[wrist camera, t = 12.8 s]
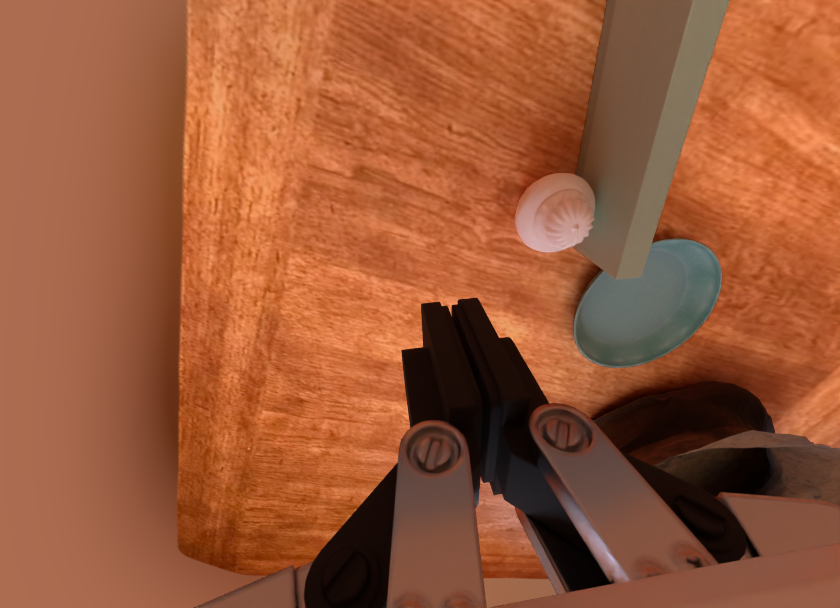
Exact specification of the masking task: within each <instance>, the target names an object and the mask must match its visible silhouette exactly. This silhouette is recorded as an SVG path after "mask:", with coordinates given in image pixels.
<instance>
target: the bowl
mask: <svg viewBox="0 0 840 608" xmlns="http://www.w3.org/2000/svg"><path fill="white" fill-rule="evenodd" d="M593 422H594V423H595V424H596V425H597V426H598V427H599V428H600V429H601V431H602V432H603V433H604V434H605V435H606V436H607V437H608V438H609V440H610V441H611V442H612V443H613V444H614V445H615V446H616V448H617V449H618V450H620V451H622V452H624V453H627V454H629V455H631V456H633V457H635V458H637V459H639V460H642V461H644V462H646V463H648V464H650V465H652V466H654V467H656V468H659V469H661V470H663V471H665V472H667V473H669V474H671V475H673V476H676V477H678V478H680V479H682V480H684V481H686V482H688V483H690V484H693V485H695V486H697V487H699V488H701V489H703V490H704V491H706V492H708V493H709V494H711V495H713V496H715V497H717V496H718V495H719V493H720V492H725V493H738V494H751V495H764V496H777V497H790V498H803V499H816V500H821V501H826V502H830V503H834V504H836V505H838V506H840V448H830V446H827V445H823V444H814V443H813V442H810V441H809V440H808V439H807V438H806V437H802V436H797V435H791V434H776V433H775V430H774V426H773V422H772V419H771V417H770V416H769V415H768V414H767V411H766V409H765V408H764V406H763V405H762V403H761V401H760V400H759V399H758V398H757V397H756V396H755V395H754V394H752V393H751V392H749V391H748V390H746V389H744V388H742V387H739V386H737V385H735V384H731V383H722V382H704V383H698V384H696V385H694V386H692V387H689V388H686V389H682V390H674V391H669V392H666V393H663V394H660V395H650V396H646V397H641V398H639V399H636V400H634V401H632V402H630V403H628V404H626V405H623V406H621V407H619V408H616V409H614V410H612V411H610V412H608V413H607V414H605V415H603V416H601V417H599V418H597V419H595V420H594V421H593Z"/></svg>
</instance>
